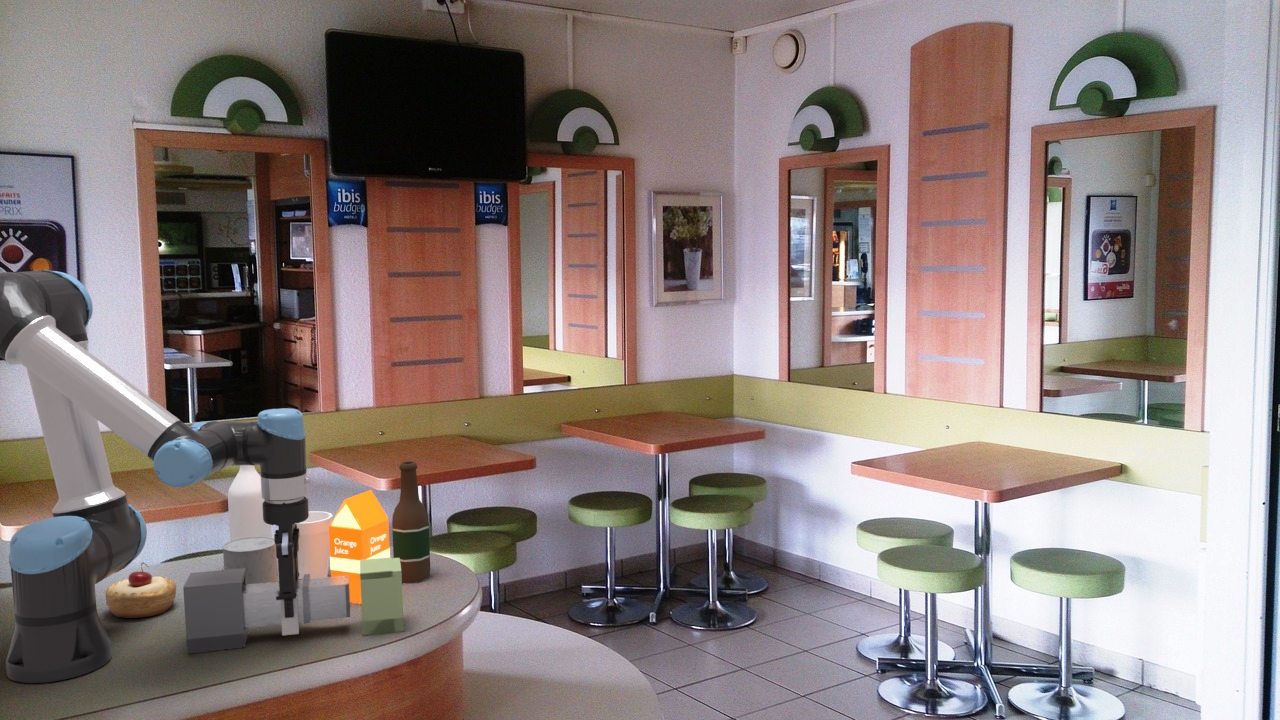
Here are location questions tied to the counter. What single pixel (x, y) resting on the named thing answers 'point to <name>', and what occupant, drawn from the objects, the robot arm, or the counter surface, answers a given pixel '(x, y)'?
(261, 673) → the counter surface
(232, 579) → the sleeve
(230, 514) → the bottle
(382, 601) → the socket
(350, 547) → the orange juice
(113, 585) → the pastry
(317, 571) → the foam cup
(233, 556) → the gray cylinder
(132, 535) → the robot arm
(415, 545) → the beer bottle
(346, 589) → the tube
